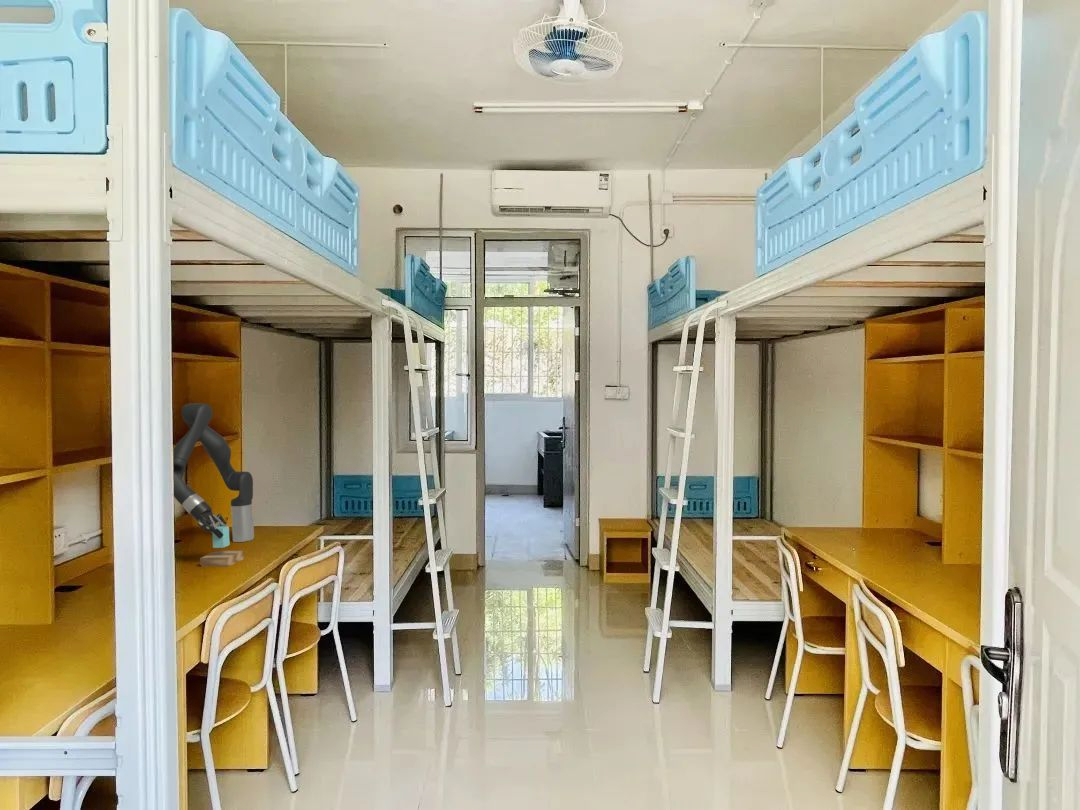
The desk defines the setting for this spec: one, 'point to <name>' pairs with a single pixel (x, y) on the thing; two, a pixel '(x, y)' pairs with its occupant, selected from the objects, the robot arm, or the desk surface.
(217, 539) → the teal block
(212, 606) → the desk surface
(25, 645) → the desk surface
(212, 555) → the brown notched block
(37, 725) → the desk surface
